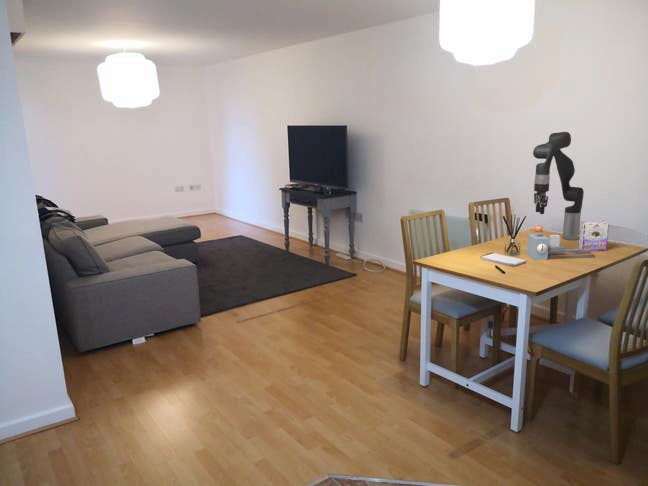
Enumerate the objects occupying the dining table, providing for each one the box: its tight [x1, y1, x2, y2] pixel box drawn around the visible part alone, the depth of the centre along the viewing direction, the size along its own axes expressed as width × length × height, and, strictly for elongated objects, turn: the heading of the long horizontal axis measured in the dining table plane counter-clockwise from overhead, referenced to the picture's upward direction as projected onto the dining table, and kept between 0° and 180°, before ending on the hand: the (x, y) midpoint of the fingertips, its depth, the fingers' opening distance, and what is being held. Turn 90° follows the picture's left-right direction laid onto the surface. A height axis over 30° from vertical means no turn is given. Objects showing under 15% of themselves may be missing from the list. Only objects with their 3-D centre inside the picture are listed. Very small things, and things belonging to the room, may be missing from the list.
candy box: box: [578, 220, 610, 252], centre depth 292 cm, size 14×6×16 cm, turn 84°
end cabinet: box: [526, 233, 549, 261], centre depth 282 cm, size 13×7×12 cm, turn 179°
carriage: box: [548, 234, 565, 252], centre depth 281 cm, size 8×8×8 cm
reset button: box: [534, 225, 544, 233], centre depth 280 cm, size 4×4×3 cm
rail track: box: [547, 248, 596, 260], centre depth 283 cm, size 10×26×4 cm, turn 89°
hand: (539, 212), depth 277 cm, fingers open, 5 cm apart
